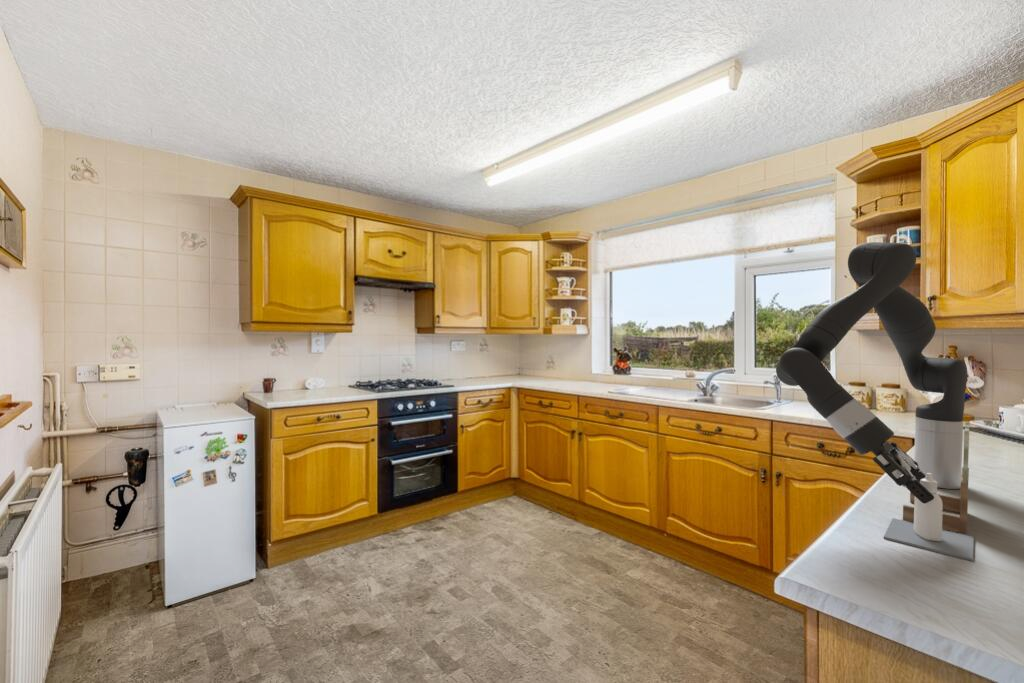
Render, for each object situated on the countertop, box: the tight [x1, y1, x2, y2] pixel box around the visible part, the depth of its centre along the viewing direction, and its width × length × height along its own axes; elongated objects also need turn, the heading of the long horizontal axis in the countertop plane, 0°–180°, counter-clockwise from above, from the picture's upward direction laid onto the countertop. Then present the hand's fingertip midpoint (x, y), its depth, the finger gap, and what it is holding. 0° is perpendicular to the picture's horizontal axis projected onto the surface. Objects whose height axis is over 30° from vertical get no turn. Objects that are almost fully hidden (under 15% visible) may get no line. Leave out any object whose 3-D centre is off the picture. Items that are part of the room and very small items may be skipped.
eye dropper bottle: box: [913, 473, 944, 542], centre depth 88 cm, size 4×6×12 cm
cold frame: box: [902, 421, 970, 535], centre depth 99 cm, size 16×10×20 cm, turn 135°
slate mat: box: [883, 517, 975, 562], centre depth 88 cm, size 13×12×1 cm
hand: (931, 495), depth 88 cm, fingers open, 8 cm apart
